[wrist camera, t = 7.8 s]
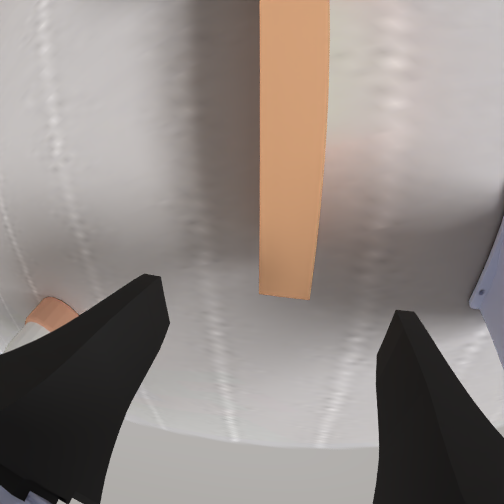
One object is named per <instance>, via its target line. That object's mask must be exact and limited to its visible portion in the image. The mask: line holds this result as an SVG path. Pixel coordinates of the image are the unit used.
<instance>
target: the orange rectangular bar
mask: <svg viewBox="0 0 504 504" xmlns="http://www.w3.org/2000/svg"><path fill="white" fill-rule="evenodd" d="M329 44H330V13H329V0H260V247H259V294H263V295H271V296H279V297H287V298H295V299H304V300H310V292H311V285H312V277H313V270H314V262H315V253H316V245H317V236H318V227H319V217H320V207H321V196H322V185H323V173H324V160H325V146H326V130H327V111H328V87H329Z"/></svg>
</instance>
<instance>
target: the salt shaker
mask: <svg viewBox="0 0 504 504" xmlns="http://www.w3.org/2000/svg"><path fill="white" fill-rule="evenodd" d="M78 316H79V315H78V314H77V313H76V312H75V311H74V310H73V309H72V308H71V307H69V306H68V305H66V304H65V303H64V302H62V301H60V300H58V299H56V298H53V297H47V298H44V299H43V300H42V301H41V302H40V303H39V305H38V306H37V307H36V308H35V309H34V310H33V311H32V312H31V313H30V314H29V316H28V317H27V318H26V321H25V326H24V327H23V328H22V329H21V330H20V331H19V332H18V333H17V335H16V336H15V337H14V338H13V339H12V340H11V341H10V342H9V344H8V346H7V347H6V349H5V351H4V353H6V352H9V351H11V350H14V349H16V348H18V347H21V346H23V345H25V344H28V343H30V342H32V341H34V340H37V339H39V338H41V337H42V336H44V335H46V334H48V333H50V332H52V331H54V330H56V329H58V328H59V327H61V326H63V325H65V324H66V323H68V322H69V321H71V320H73V319H74V318H76V317H78Z"/></svg>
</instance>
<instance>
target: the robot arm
mask: <svg viewBox="0 0 504 504" xmlns="http://www.w3.org/2000/svg"><path fill="white" fill-rule="evenodd" d="M482 289H483V290H482ZM480 290H482V291H480ZM479 291H480V292H479ZM469 305H470V307H471V308H472V309H480V311H481V314H482V316H483V318H484V320H485V323H486V325H487V328H488V330H489V332H490V335H491V337H492V340H493V342H494V345H495V348H496V350H497V353H498V356H499V358H500V361H501V364H502V367H503V369H504V217H503V220H502V223H501V226H500V229H499V231H498V234H497V237H496V240H495V242H494V245H493V248H492V250H491V253H490V255H489V258H488V260H487V262H486V265H485V267H484V269H483V272H482V274H481V276H480V278H479V281H478V283H477V285H476V287H475V289H474V291H473V293H472V296H471V298H470V300H469ZM169 324H170V321H169V316H168V311H167V307H166V302H165V297H164V292H163V286H162V281H161V277H160V276H154V275H149V274H143V275H141V276H139V277H138V278H136V279H134V280H133V281H131V282H130V283H128V284H127V285H125V286H124V287H122V288H121V289H119V290H118V291H116V292H115V293H113V294H112V295H110V296H109V297H107V298H106V299H104V300H103V301H101V302H100V303H98V304H97V305H95V306H94V307H92V308H91V309H89V310H87V311H86V312H84V313H82V314H81V315H79V316H78V317H76V318H74V319H73V320H71V321H69V322H68V323H66V324H65V325H63V326H61V327H59V328H58V329H56V330H54V331H52V332H50V333H48V334H46V335H44V336H42V337H41V338H39V339H37V340H34V341H32V342H30V343H28V344H25V345H23V346H21V347H18V348H16V349H14V350H11V351H9V352H6V353H3V354H1V355H0V504H56V503H57V501H58V499H60V500H61V501H63V502H65V503H66V504H69V503H70V501H71V499H72V498H74V499H76V500H78V501H79V502H81V503H83V504H100V501H101V495H102V490H103V486H104V481H105V476H106V472H107V468H108V465H109V461H110V458H111V454H112V451H113V448H114V445H115V442H116V439H117V436H118V433H119V430H120V428H121V425H122V422H123V420H124V417H125V415H126V412H127V410H128V408H129V406H130V404H131V401H132V399H133V398H134V396H135V394H136V392H137V390H138V388H139V387H140V385H141V383H142V381H143V379H144V377H145V376H146V374H147V372H148V370H149V368H150V367H151V365H152V363H153V361H154V359H155V357H156V356H157V354H158V352H159V350H160V348H161V345H162V343H163V340H164V338H165V335H166V332H167V330H168V327H169ZM376 393H377V408H378V426H379V463H378V473H377V481H376V488H375V494H374V500H373V504H504V438H503V437H502V435H501V434H500V433H499V432H498V431H497V430H496V429H495V427H494V426H493V425H492V424H491V423H490V421H489V420H488V419H487V418H486V416H485V415H484V414H483V413H482V411H481V410H480V409H479V407H478V406H477V405H476V404H475V402H474V401H473V400H472V398H471V397H470V395H469V394H468V393H467V391H466V390H465V388H464V387H463V385H462V384H461V383H460V381H459V380H458V378H457V377H456V375H455V374H454V372H453V371H452V369H451V368H450V366H449V365H448V363H447V362H446V360H445V358H444V357H443V355H442V354H441V352H440V351H439V349H438V348H437V346H436V344H435V343H434V341H433V340H432V338H431V336H430V335H429V333H428V332H427V330H426V329H425V327H424V326H423V324H422V322H421V321H420V319H419V318H418V316H417V315H416V314H415V312H412V311H402V310H396V311H395V313H394V316H393V318H392V321H391V323H390V326H389V328H388V331H387V333H386V335H385V338H384V340H383V342H382V344H381V347H380V349H379V351H378V353H377V366H376Z"/></svg>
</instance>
